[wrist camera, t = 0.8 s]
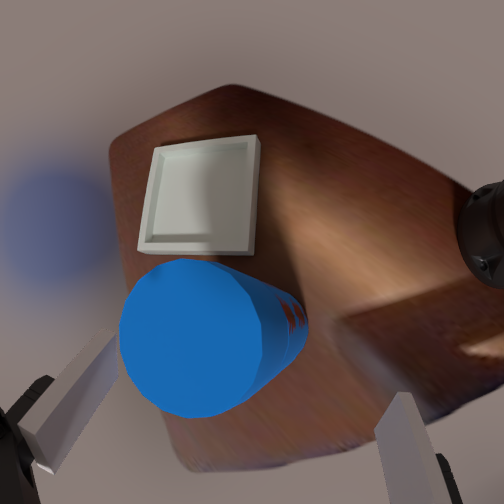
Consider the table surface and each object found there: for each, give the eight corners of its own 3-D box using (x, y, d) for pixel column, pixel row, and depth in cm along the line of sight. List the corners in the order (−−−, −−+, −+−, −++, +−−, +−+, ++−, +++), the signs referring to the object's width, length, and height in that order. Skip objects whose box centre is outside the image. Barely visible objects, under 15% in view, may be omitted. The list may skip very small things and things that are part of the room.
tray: (260, 144, 49) (256, 134, 46) (253, 255, 46) (247, 251, 43) (163, 155, 54) (154, 147, 51) (147, 254, 51) (137, 250, 48)
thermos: (241, 372, 43) (133, 422, 19) (225, 299, 45) (107, 278, 22) (317, 357, 40) (284, 410, 17) (300, 280, 43) (245, 235, 19)
